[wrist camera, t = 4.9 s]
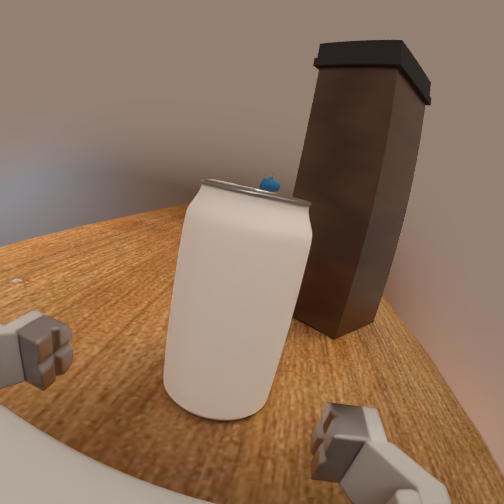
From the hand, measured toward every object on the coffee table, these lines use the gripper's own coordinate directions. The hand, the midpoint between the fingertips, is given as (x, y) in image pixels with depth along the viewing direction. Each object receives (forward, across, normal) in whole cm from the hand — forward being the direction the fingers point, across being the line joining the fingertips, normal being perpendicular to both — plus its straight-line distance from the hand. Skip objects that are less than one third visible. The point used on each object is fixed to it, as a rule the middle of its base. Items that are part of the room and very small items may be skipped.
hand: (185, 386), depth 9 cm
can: (+9, 0, +7) cm, 11 cm away
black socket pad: (+26, -8, -20) cm, 34 cm away
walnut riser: (+27, -8, +6) cm, 29 cm away
